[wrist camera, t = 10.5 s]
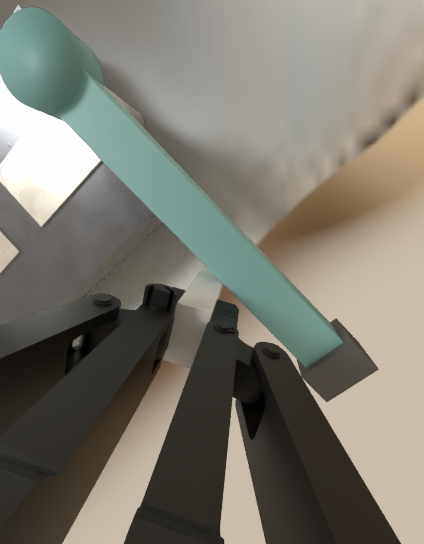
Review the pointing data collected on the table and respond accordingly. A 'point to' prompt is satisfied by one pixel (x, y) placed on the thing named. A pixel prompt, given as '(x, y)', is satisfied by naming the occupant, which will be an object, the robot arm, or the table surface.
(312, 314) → the green knobbed rod
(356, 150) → the table surface
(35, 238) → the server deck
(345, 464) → the robot arm
